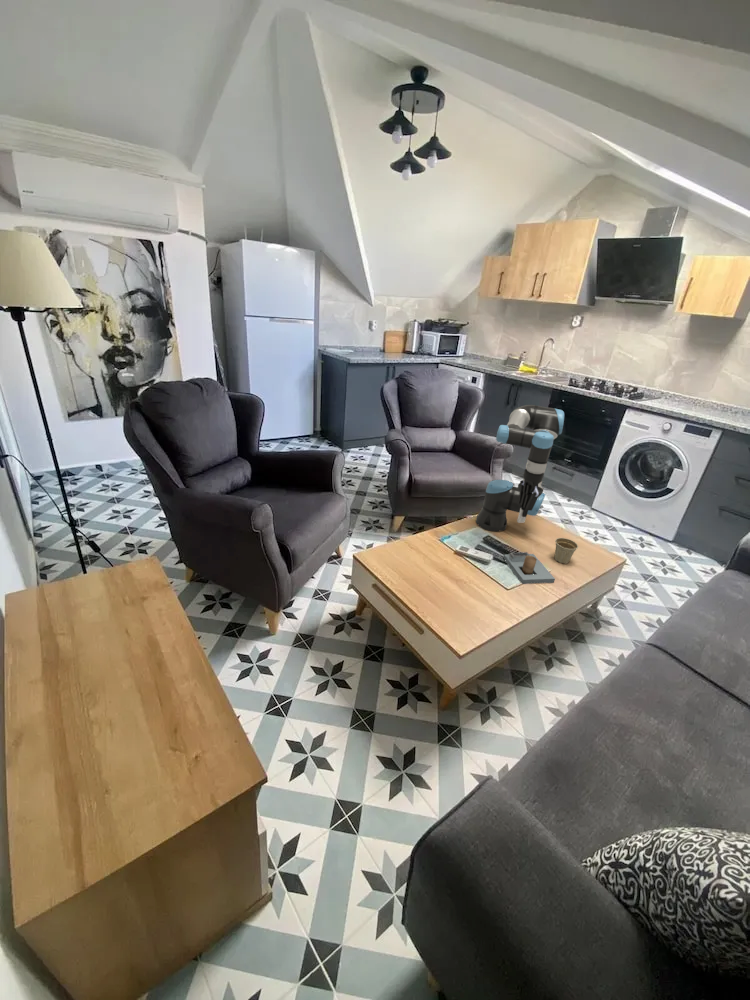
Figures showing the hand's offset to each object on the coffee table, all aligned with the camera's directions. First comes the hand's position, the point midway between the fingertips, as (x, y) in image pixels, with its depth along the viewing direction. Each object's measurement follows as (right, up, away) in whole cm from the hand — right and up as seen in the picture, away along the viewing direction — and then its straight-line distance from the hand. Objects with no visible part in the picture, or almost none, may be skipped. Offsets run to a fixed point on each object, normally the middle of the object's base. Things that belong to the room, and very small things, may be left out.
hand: (520, 521), depth 177 cm
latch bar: (0, -16, +2) cm, 16 cm away
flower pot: (+21, -17, +8) cm, 28 cm away
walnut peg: (+1, -22, -5) cm, 22 cm away
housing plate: (+2, -20, -2) cm, 21 cm away
